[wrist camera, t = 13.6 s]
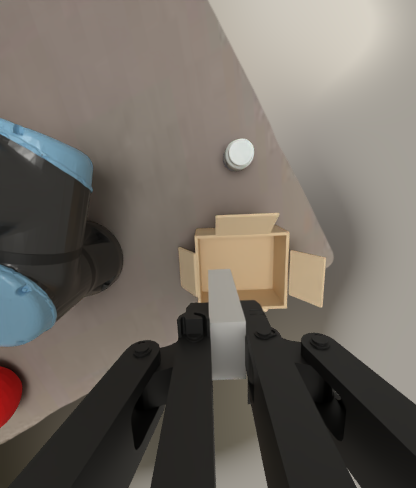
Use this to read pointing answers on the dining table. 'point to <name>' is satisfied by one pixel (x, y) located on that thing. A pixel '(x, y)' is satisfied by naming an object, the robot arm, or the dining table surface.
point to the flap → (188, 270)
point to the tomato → (9, 394)
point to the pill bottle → (238, 154)
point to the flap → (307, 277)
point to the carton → (246, 264)
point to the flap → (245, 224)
